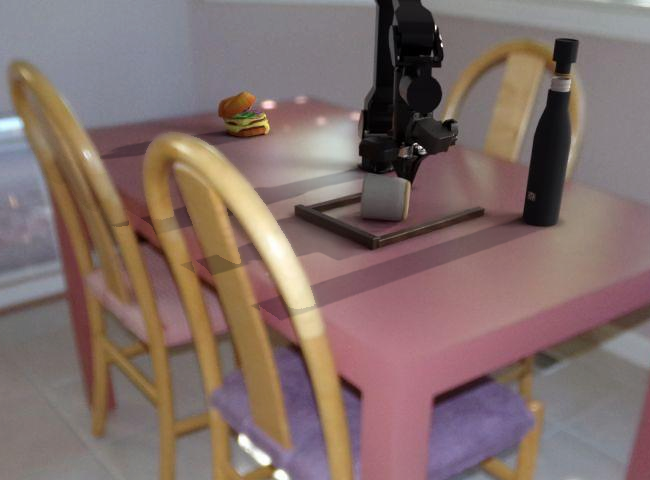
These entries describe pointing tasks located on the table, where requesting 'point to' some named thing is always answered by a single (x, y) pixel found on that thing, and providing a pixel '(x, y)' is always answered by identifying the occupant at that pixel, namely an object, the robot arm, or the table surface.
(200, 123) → the table surface
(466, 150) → the table surface
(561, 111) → the black bottle
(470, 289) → the table surface
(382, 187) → the ceramic mug
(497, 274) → the table surface
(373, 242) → the brown wooden flat frame
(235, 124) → the cheeseburger
